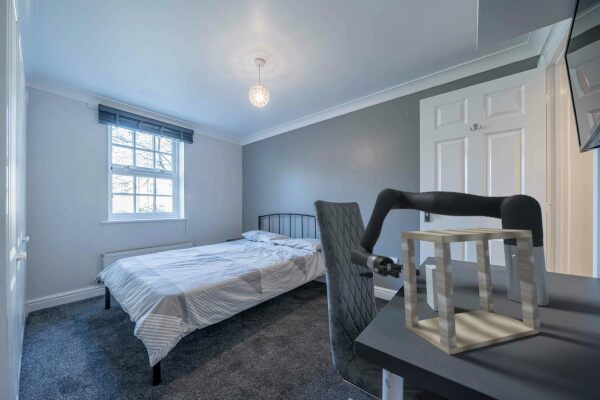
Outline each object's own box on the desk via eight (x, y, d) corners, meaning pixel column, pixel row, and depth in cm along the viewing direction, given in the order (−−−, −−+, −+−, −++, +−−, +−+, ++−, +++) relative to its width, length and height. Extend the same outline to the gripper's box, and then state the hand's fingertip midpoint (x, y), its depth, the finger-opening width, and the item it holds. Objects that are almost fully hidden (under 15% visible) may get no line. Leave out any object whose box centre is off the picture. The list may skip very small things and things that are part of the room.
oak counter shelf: (486, 312, 65) (479, 228, 67) (540, 332, 54) (531, 230, 55) (406, 327, 58) (401, 232, 59) (449, 354, 46) (441, 235, 48)
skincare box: (450, 312, 66) (447, 269, 67) (433, 311, 67) (431, 268, 68) (441, 304, 72) (439, 264, 73) (426, 303, 73) (424, 264, 74)
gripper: (364, 256, 94) (391, 264, 79) (394, 254, 98) (425, 261, 83) (365, 275, 94) (391, 287, 78) (395, 272, 98) (426, 283, 82)
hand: (408, 274), depth 81 cm, fingers open, 8 cm apart
